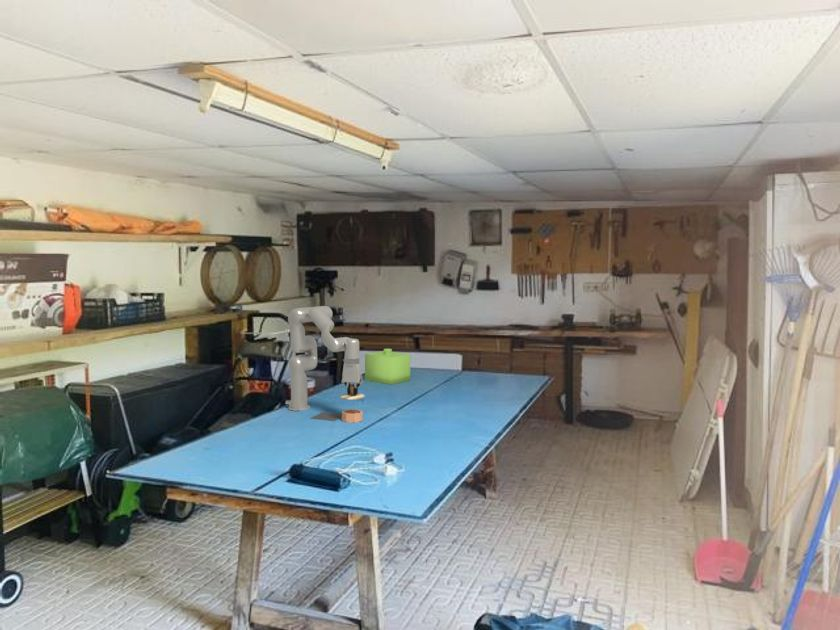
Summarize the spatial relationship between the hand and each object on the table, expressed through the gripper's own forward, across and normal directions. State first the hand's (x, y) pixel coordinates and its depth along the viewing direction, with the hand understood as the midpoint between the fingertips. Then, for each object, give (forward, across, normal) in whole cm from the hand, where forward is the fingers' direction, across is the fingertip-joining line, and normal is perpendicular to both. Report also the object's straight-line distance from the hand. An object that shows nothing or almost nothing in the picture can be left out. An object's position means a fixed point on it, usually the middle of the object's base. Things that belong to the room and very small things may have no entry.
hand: (352, 394), depth 358 cm
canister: (+15, -23, +115) cm, 118 cm away
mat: (+15, -16, +2) cm, 22 cm away
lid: (+2, 0, 0) cm, 2 cm away
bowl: (+15, 0, 0) cm, 15 cm away
